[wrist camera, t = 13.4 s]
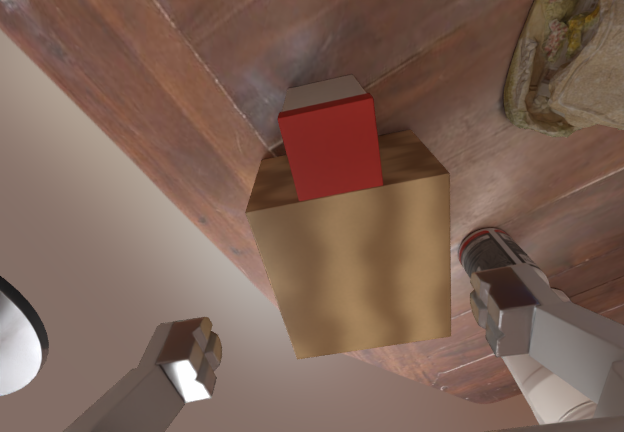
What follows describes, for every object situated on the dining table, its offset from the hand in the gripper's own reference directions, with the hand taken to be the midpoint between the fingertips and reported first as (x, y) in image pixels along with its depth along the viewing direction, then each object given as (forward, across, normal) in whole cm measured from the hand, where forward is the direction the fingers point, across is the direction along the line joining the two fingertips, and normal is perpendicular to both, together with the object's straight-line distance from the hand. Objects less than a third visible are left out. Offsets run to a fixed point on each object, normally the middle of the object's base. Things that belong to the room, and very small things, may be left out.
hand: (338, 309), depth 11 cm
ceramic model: (+23, -22, -1) cm, 32 cm away
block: (+23, -1, +11) cm, 26 cm away
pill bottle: (+23, -15, +18) cm, 33 cm away
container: (+18, -1, +3) cm, 18 cm away
